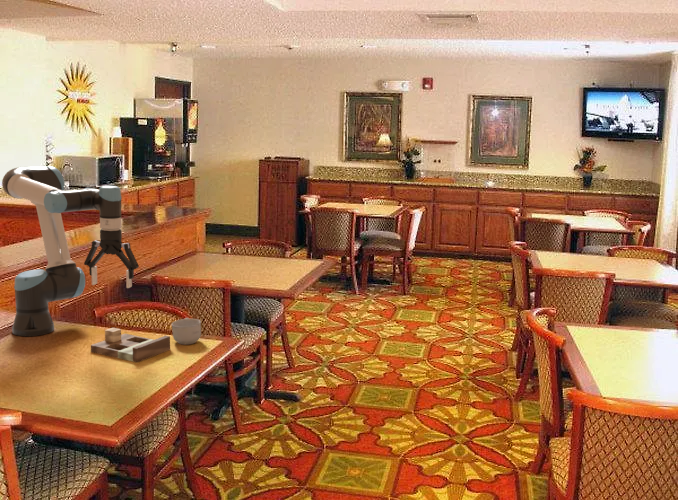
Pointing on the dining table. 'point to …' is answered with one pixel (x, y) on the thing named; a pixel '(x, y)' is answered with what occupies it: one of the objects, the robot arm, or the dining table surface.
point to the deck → (132, 347)
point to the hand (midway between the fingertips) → (111, 285)
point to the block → (112, 334)
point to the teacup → (186, 330)
